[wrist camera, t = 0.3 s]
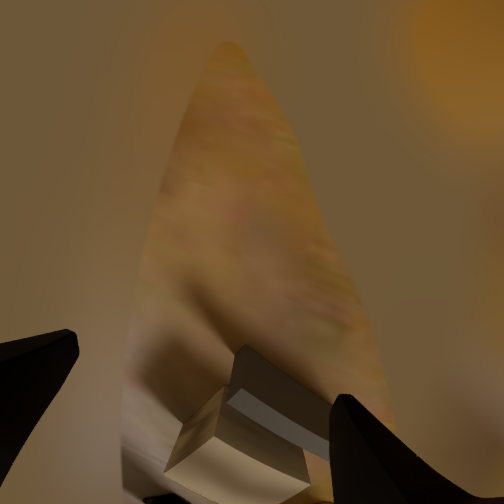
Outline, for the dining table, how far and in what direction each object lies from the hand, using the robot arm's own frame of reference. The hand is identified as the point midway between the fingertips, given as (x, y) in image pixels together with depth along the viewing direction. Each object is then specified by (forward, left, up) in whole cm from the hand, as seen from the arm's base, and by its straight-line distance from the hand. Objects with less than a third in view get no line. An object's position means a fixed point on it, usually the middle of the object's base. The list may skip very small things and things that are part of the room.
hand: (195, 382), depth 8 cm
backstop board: (-1, -10, -15) cm, 18 cm away
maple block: (-8, -12, -15) cm, 21 cm away
